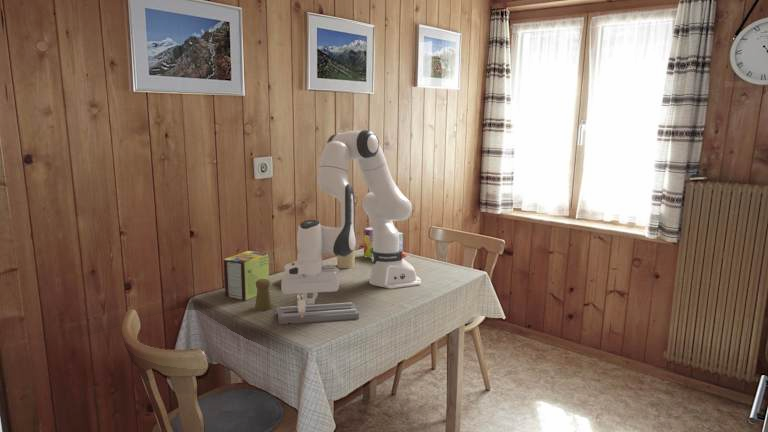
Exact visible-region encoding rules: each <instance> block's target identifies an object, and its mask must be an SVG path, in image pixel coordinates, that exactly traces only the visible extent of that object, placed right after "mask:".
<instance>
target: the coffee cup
mask: <svg viewBox="0 0 768 432" xmlns="http://www.w3.org/2000/svg"><path fill="white" fill-rule="evenodd" d="M355 257H356V248H355V249H354V251H353V252H351V253H350V254H349V255H347V256H345V257H343V256H339V255H336V259H337V267H338V268H339V267H340V268H339V269H341V268H350V269H353V268H354V267H355V260H356V259H355ZM352 267H353V268H352Z"/></svg>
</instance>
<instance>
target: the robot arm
mask: <svg viewBox="0 0 768 432" xmlns="http://www.w3.org/2000/svg"><path fill="white" fill-rule="evenodd" d="M322 150H323V151H322V153H321V156H320V160H319V164H318V171H317V176H316V178H317V183H318V186H319V187H320V189H321V190H322V191H323V192H325V193H326V194H329V196H332V197H333V198H335V199H336V200H338V201H339V203H340V211H341V212H340V227H335V226H333V227H332V226H324V225H322V224H321V222H320V221H319V220H317V219H308V220H303V221H301V222H300V223H299V224H298V228H297V234H296V248H297V256H296V257H297V258H296V260H295V261H292V262H289V263H287V264H285V265H284V272H283V273H282V276H281V285H280V290H281V293H282V294H283V295H295V294H297V295H298V294H302V295H303V296H304V298H305V305H315V300H316V299H317V297H318V293H331V292H332V293H333V292H337V291H338V290H339V288H340V285H339V279H338V277H339V276H340V268H339V267H338V266H336V265H333V264H332V265H324V266H322V265H323V254H329V255H330V254H331V255H336V256H337V255H339V256H343V257H345V256H347V255H349V254H350V253H351V252H353V251H354V249H355V250H356V245H357V238H356V237H357V235H356V229H355V228H356V226H355V222H356V221H355V220H356V219H355V217H356V216H355V215H356V214H355V213H356V212H355V210H356V209H355V205H356V204H355V192H354V188H353V186H352V185H350V183H349V178H348V175H349V169H350V161H355V160H357V161H358V165H359V168H360V172H361V175H362V177H363V180H364V184H365V186H366V187H367V188H368V190H370V191H371V192H370V191H369V192H368V193H366V194H365V195H364V197H363V198H362V209H363V211H365V213H366V214H367V216H368V220H369V222H370V225H371V228H372V230H373V250H372V259H371V262H372V265H371V271H370V277H369V282H368V283H369V284H370V285H372V286H376V287H382V288H386V289H390V290H391V289H397V288H405V287H413V286H419V285H420V286H421V284H422V279H421V278H420V277H419V276H418V275H417V273H416V270H415V268H414V266H413V265H412V264H411V263H410V262H408V261H407V260H406V259H405V258H406V257H407V254H406V253H405V252H404V251H403V250H402V251H400V250H399V230H398V229H397V227H395V225H394V222H404V221H406V220H408V219H409V218H410V216H412V215H411V214H412V212H413V204H412V203H411V200H409V199H408V198H407V197H406V196H405V195H404V194H403V193H402V191H401V190H400V189H399V187H398V185H397V184H396V183H395V180H394V178H393V177H392V174H391V171H390V169H389V166H388V162H387V159H386V156H385V154H384V151H383V149H382V147H381V145H380V140H379V138H378V136H377V135H376V133H375V132H373V131H372V130H367V129H363V130H349V131H344V132H338V133H335V134H332V135H331V136H330V137H329V138H328V140H327V143H326V145H325V146H324V148H323V149H322ZM322 253H323V254H322ZM322 269H323V270H322ZM311 293H312V295H313V296H312V298H308V294H311Z"/></svg>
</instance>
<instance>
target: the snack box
mask: <svg viewBox="0 0 768 432" xmlns="http://www.w3.org/2000/svg"><path fill="white" fill-rule="evenodd" d="M398 232H399V231H398ZM403 237H404V233H403V232H399V250H400V251H402V252H403V246H404V245H403V244H404V243H403V241H404V238H403ZM372 250H373V230H372V226H371V227H370V226H369V227H366V228H364V229H363V257H364V256H367V257H372Z"/></svg>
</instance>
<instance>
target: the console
mask: <svg viewBox="0 0 768 432" xmlns="http://www.w3.org/2000/svg"><path fill="white" fill-rule="evenodd" d="M301 315H303V318H301ZM277 318H278V325H289V324H288V323H291V324H292V325H293V324H303V323H304V324H305V323H306V324H307V323H317V322H330V321H331V322H333V321H345V320H347V321H348V320H359V319H360V312H359V311H358V309H357V306H356V305H355V303H354V302H352V301H351V302H337V303H325V304H324V303H323V304H309V305H306V304H305V312H304V313H298V307H297V305H293V306H290V305H289V306H280V307H277ZM291 324H290V325H291Z"/></svg>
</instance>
